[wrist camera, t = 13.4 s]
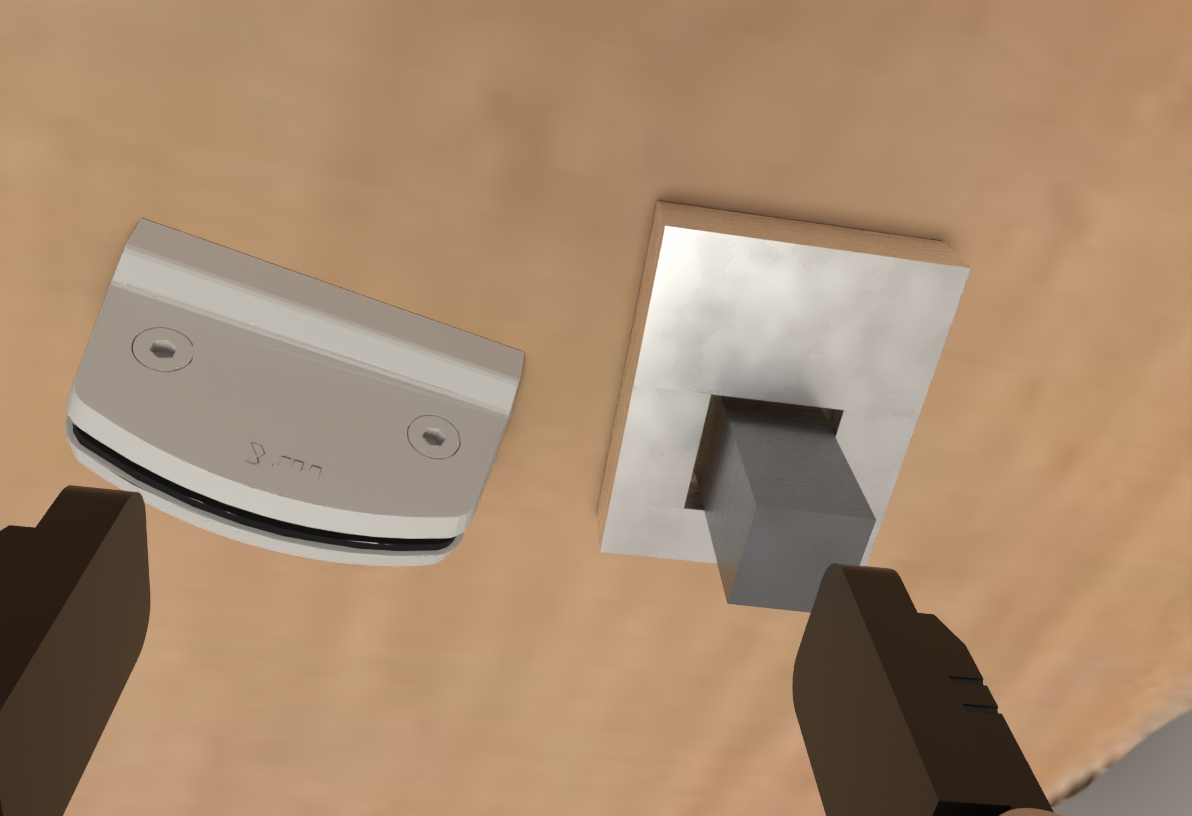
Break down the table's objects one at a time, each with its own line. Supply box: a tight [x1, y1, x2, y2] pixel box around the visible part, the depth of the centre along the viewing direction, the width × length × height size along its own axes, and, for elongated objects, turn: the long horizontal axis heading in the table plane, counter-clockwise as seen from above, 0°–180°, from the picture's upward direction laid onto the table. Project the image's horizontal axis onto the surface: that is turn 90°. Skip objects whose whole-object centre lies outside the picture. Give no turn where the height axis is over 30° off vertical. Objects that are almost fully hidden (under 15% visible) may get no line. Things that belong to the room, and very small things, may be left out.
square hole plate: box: [597, 201, 971, 566], centre depth 44 cm, size 15×12×3 cm
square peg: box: [694, 394, 876, 612], centre depth 42 cm, size 4×4×10 cm
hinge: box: [65, 218, 525, 566], centre depth 41 cm, size 17×5×10 cm, turn 67°
